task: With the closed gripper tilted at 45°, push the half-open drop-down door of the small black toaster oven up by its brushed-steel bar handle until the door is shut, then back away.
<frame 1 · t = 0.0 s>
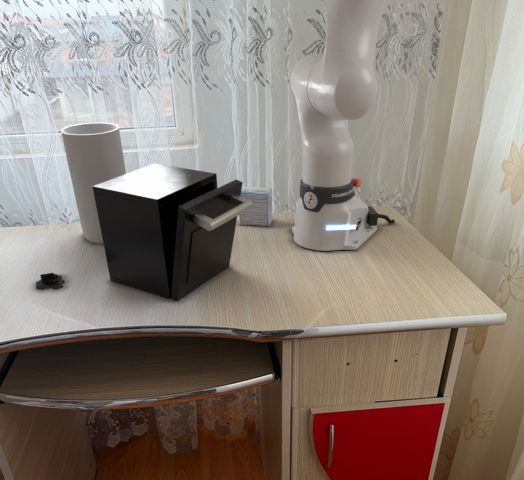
black irregular piece: (50, 284, 112), on the table
oven door: (215, 244, 104), point 9 cm above the table, hinge at 12.8°
medicine box: (256, 223, 139), on the table
oven: (167, 273, 116), on the table
cylinder vase: (109, 235, 134), on the table
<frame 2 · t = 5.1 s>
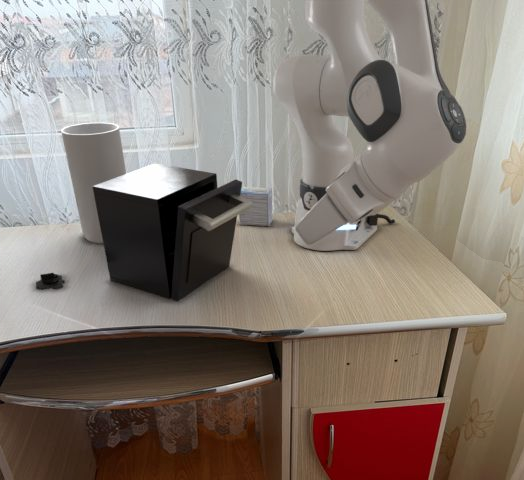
hand: (308, 233, 92), 15 cm above the table, tool tilted 45°, fingers closed
nothing on the table moved.
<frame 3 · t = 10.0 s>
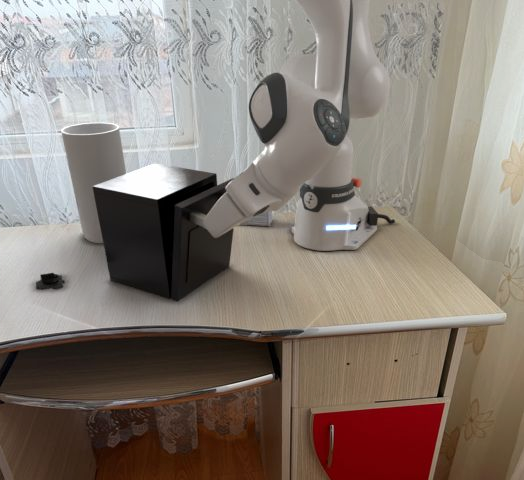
hand: (224, 228, 101), 13 cm above the table, tool tilted 45°, fingers closed, pressing on oven door
oven door: (214, 243, 105), point 9 cm above the table, hinge at 10.5°, touching gripper
everything else where it was.
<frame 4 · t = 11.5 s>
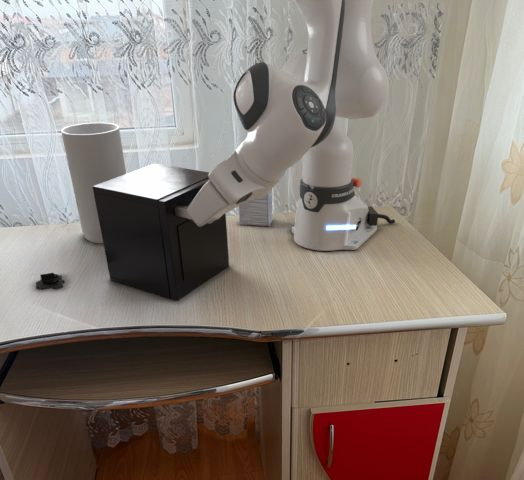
hand: (210, 218, 102), 14 cm above the table, tool tilted 45°, fingers closed, pressing on oven door
oven door: (206, 239, 105), point 10 cm above the table, hinge at -0.7°, touching gripper, oven
everything else where it was.
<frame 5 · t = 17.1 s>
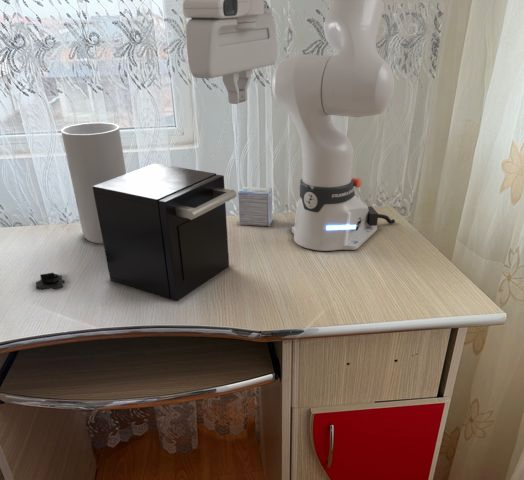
hand: (238, 102, 88), 35 cm above the table, tool pointing down, fingers closed
oven door: (206, 239, 105), point 10 cm above the table, hinge at -0.3°
everything else where it was.
at the end: oven door at +0° (first picture: +13°) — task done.
